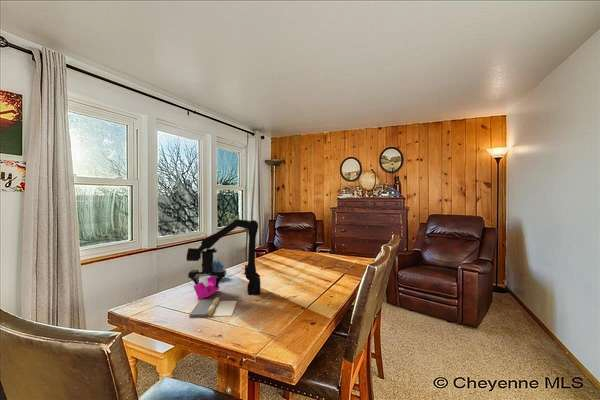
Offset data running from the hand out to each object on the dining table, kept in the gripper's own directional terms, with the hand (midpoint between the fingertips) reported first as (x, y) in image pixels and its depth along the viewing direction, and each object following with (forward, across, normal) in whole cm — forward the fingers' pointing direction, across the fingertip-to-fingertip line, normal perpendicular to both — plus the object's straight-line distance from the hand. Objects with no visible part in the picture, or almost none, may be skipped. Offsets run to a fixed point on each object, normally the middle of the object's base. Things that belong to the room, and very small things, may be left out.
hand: (207, 289), depth 151 cm
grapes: (+3, 0, -26) cm, 27 cm away
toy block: (+1, -2, +2) cm, 3 cm away
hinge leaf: (+2, -4, +19) cm, 20 cm away
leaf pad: (+2, -13, +20) cm, 23 cm away
